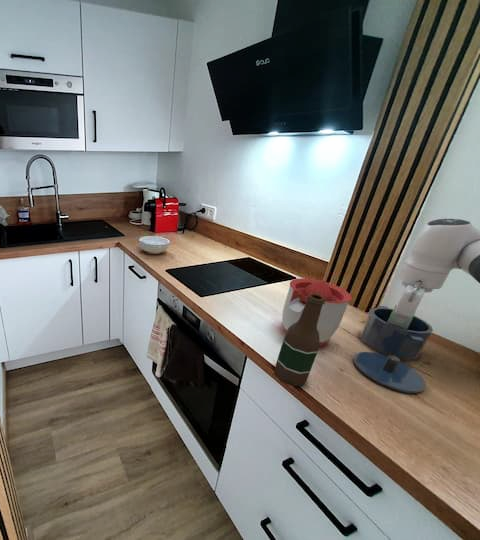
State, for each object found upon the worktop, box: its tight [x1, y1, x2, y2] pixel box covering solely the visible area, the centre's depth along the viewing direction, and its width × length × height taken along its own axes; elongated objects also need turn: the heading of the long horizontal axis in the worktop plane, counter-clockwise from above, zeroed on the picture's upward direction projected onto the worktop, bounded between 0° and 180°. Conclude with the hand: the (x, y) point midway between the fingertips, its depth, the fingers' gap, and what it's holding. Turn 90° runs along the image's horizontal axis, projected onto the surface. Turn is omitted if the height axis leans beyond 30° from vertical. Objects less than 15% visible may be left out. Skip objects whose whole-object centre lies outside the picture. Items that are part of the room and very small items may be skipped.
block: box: [387, 304, 417, 329], centre depth 85 cm, size 4×4×4 cm
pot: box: [359, 305, 434, 361], centre depth 87 cm, size 14×19×10 cm
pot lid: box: [353, 351, 427, 394], centre depth 76 cm, size 15×15×5 cm
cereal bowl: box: [138, 235, 171, 255], centre depth 160 cm, size 17×17×7 cm
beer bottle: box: [273, 294, 325, 388], centre depth 70 cm, size 8×8×24 cm
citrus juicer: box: [281, 277, 352, 347], centre depth 88 cm, size 16×17×20 cm
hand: (400, 318), depth 85 cm, fingers closed on block, 4 cm apart
